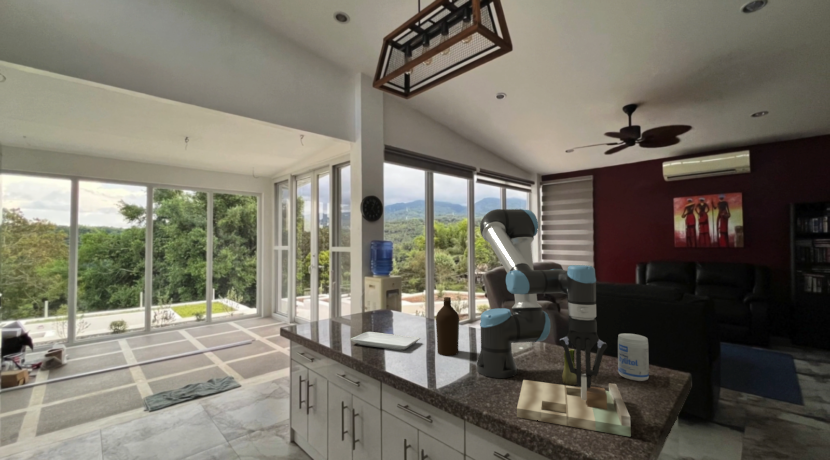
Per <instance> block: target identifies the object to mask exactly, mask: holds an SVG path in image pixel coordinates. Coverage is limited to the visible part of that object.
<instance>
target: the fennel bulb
mask: <svg viewBox="0 0 830 460" xmlns="http://www.w3.org/2000/svg"><path fill="white" fill-rule="evenodd" d="M569 352H570V355H571V359H572V363H573V366H574V368H576V362H575V349H569ZM563 358H564V359H563V360H564V361H563V362H564V364H563V365H564V366H563V372H562V373H561V382H562V383H563V385H566V386H574V387H575V386H577V376H576V374H574V373H571V372H570V369H569V365H568V362H567V358H566V354H565V351H564V352H563Z"/></svg>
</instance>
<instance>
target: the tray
mask: <svg viewBox="0 0 830 460" xmlns="http://www.w3.org/2000/svg"><path fill="white" fill-rule="evenodd" d="M349 340H350V341H351V342H353V343H355V344H357V345H359V346H366V347H374V348H380V349H381V348H383V349H388V350H397V351H404V350H406V349H408V348H410V347H411V346H413V345H414V344H415V343H417V342H418V341H419V340H421V337H418V336H408V335H401V334H391V333H382V332H376V331H375V332H374V331H366V332H363V333H360V334H358V335H356V336H354V337H351V338H350V339H349Z"/></svg>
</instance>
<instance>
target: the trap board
mask: <svg viewBox="0 0 830 460" xmlns="http://www.w3.org/2000/svg"><path fill="white" fill-rule="evenodd" d="M605 391H606V394H607V410H606V409H600V408H593V407H587V402H586V400H582V398H581V387H579V386H575V385H574V386H568V385H566V384H557V383H551V382H543V381H536V380H528V379H523V380H522V385H521V388H520V393H519V398H518V401H517V406H516V417H517V418H521V419H526V420H531V421H537V420H538V421H539V422H543V423H549V424H554V425H555V424H556V425H561V426H566V427H572V428H579V429H584V430H589V431H596V432H600V433H607V434H613V435H619V436H624V437H631V436H632V432H631V427H632V426H631V415H630V413H629V411H628V408H627V406H626V403H625V401H624V400H623V397H622V394H621V392H620V390H619V388H618V385H617V383H609V382H608V390H605Z"/></svg>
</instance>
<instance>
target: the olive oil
mask: <svg viewBox="0 0 830 460" xmlns="http://www.w3.org/2000/svg"><path fill="white" fill-rule="evenodd" d="M451 299H452V298H451V296H444V297H443V306H442V307H441V308H440V309H439V310H438V312H436V316H435V326H436V345H437V354H438V355H441V356H446V357H450V356H452V357H453V356H456V355H458V354H459V340H460V339H459V334H460V316H459V314H458V311H456V310H455V308H454V307H453V306H452V301H451Z"/></svg>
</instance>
